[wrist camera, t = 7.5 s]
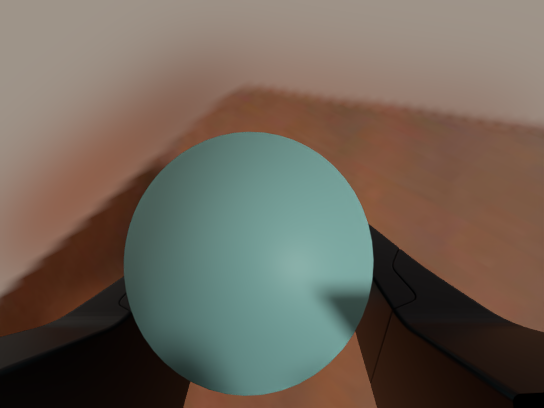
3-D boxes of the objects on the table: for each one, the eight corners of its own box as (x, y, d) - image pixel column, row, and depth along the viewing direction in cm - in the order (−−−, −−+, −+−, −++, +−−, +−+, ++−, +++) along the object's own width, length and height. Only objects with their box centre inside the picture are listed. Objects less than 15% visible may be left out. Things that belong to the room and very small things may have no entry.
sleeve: (298, 291, 15) (273, 464, 3) (245, 253, 16) (80, 282, 4) (333, 236, 15) (426, 212, 4) (279, 202, 16) (213, 95, 4)
